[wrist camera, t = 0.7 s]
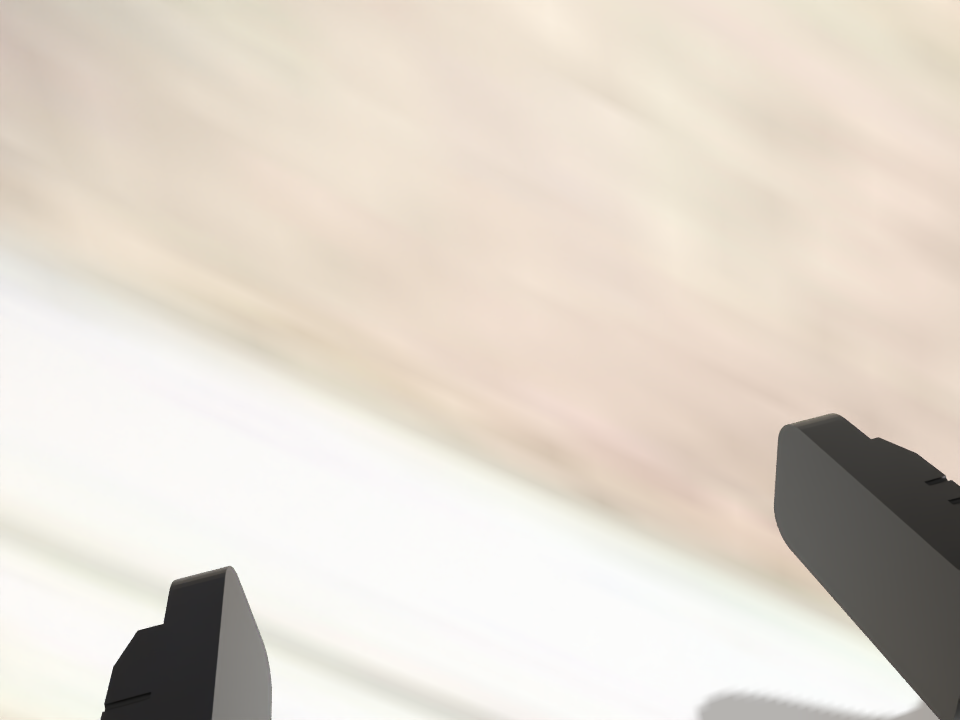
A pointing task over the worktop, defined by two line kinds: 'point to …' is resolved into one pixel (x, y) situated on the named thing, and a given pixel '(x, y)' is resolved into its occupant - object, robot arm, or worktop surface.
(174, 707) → the robot arm
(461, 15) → the worktop surface
